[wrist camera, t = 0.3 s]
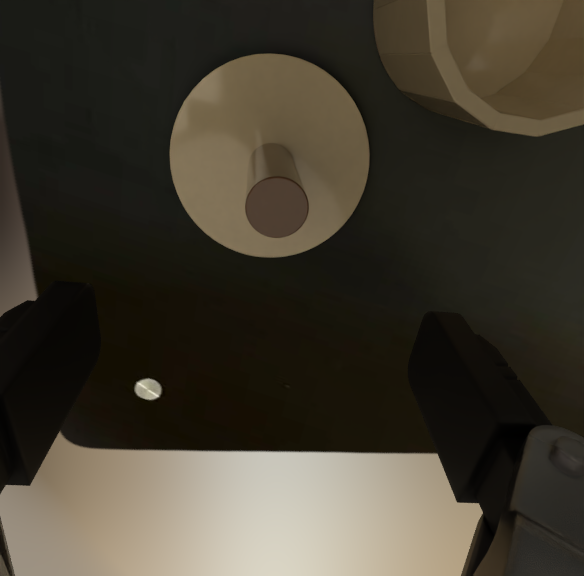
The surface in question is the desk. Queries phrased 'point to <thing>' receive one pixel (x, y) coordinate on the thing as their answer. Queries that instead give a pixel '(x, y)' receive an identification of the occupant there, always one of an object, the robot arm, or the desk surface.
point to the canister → (488, 60)
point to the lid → (269, 155)
